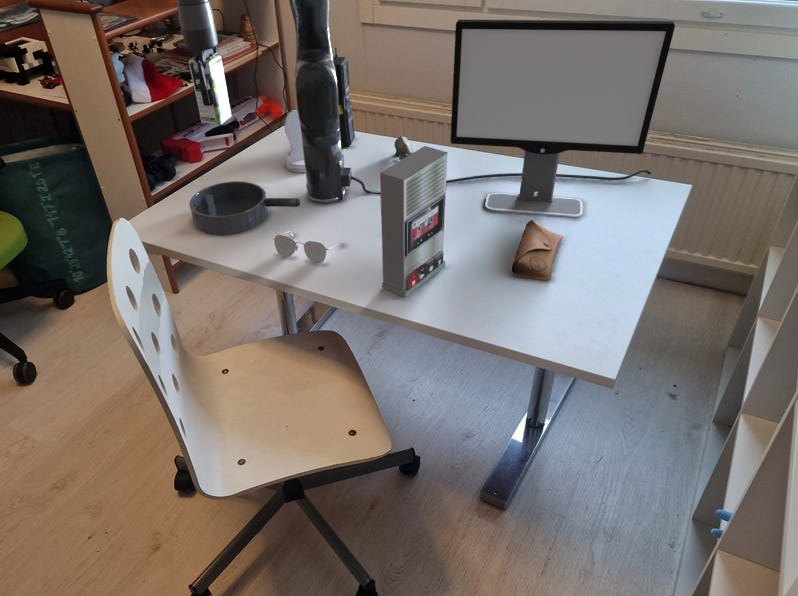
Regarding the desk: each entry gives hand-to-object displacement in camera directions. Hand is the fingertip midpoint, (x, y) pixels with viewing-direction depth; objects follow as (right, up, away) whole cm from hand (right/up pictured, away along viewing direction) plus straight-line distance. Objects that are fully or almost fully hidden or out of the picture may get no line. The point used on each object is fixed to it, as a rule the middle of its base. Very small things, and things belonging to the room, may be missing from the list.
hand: (212, 99), depth 153 cm
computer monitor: (+77, -26, -2) cm, 82 cm away
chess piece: (+20, -9, +22) cm, 31 cm away
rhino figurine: (+48, -10, +18) cm, 53 cm away
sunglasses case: (+73, -41, -19) cm, 86 cm away
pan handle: (+17, -26, -1) cm, 31 cm away
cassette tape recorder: (+47, -46, -22) cm, 69 cm away
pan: (+4, -28, +2) cm, 28 cm away
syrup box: (0, -4, +3) cm, 5 cm away
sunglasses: (+24, -39, -12) cm, 47 cm away
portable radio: (+31, 0, +31) cm, 44 cm away
